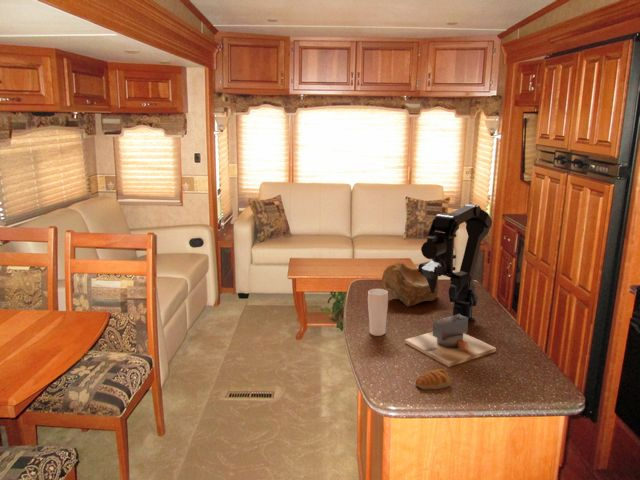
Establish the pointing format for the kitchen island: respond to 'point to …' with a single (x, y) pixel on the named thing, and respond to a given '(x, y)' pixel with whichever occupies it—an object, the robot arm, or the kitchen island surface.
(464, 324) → the coupling
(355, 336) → the kitchen island surface
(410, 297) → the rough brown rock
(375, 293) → the drinking glass
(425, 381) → the pastry
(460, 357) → the beige square board
